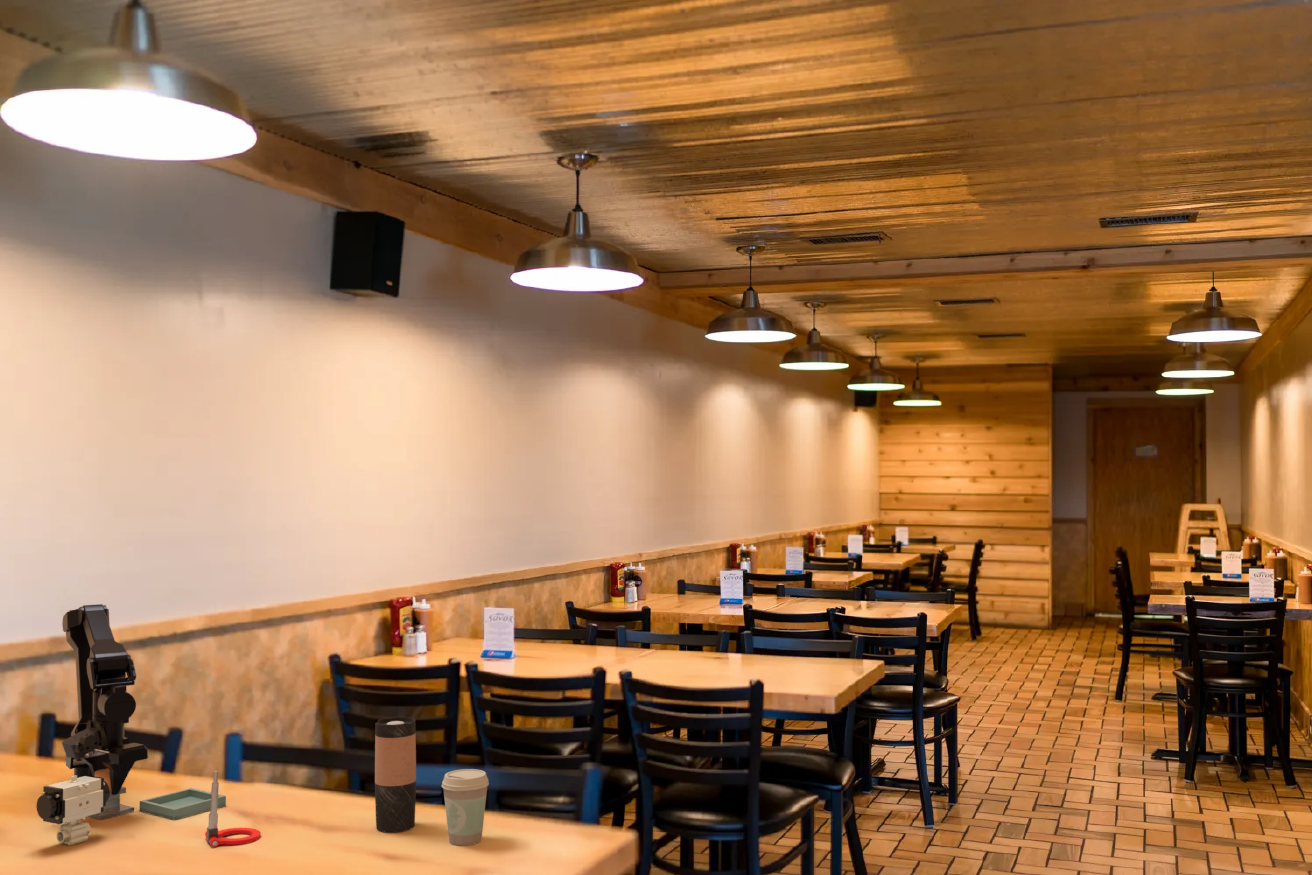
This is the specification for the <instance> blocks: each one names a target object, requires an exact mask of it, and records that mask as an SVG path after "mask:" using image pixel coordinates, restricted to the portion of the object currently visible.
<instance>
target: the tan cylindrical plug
mask: <svg viewBox="0 0 1312 875" xmlns="http://www.w3.org/2000/svg"><path fill="white" fill-rule="evenodd" d="M95 777H101V778H104V781H105V782H106V783H107V784H108V786H109V789H110V796H109V797H111V796H115V795H112V790H111V782H110V771H109V769H108V768H107V769H101V770H97V771H95ZM126 793H127V787H124V786H122V787H121V789H120V791H119V793H118V794H116V795H119V794H120V795H122V794H126Z"/></svg>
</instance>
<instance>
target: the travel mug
mask: <svg viewBox="0 0 1312 875" xmlns="http://www.w3.org/2000/svg"><path fill="white" fill-rule="evenodd" d="M374 725H375V726H374V731H375V734H374V736H375V737H374V740H375V741H374V742H375V743H374V799H375V800H374V802H375V804H374V806H375V824H376V825H375V827H376V830H377V831H378V832H381V833H391V834H392V833H395V834H396V833H403V832H406V831H410V830H412V829H414V827H415V824H416V823H415V822H416V795H417V792H416V791H417V749H416V748H417V746H416V745H417V743H416V739H417V737H416V736H417V735H416V732H417V731H416V728H417V727H416V725H417V724H416V719H415V718H413V717H408V716H393V717H390V716H389V717H384V718H380V719H378V720H377V722H375V724H374Z"/></svg>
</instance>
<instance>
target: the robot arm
mask: <svg viewBox="0 0 1312 875" xmlns="http://www.w3.org/2000/svg"><path fill="white" fill-rule="evenodd" d="M61 622H62V626H61V627H62V631H63V632H64V633H65V638H66V642H67V643H68V645H69V646H70V647H71V648H72V650H73V651H74V653H75V672H76V673H75V674H76V692H77V694H76V695H77V709H78V710H77V713H78V714H77V715H78V720H77V722H76V723H75V725H74V727H73V729H72V730H71V733H70V736H69V737H67V738H66V739H64V740H63V741H62V742H61V744H62V748H63V750H64V752H65V766H66V767H67V768H68V770H73V776H75V775H76V776H77V778H79V777H83V776H87V775H89V776H95V771H97V770H101V769H107V768H108V769H109V771H110V782H111V790H112V795H116V794H118V793H119V791H120V789H121V787H123V785H124V783H125V781H126V779H127V777H128V775H129V773H130V771H131V770H132V768H133V766H134V765H135V763H136V762H138V761H143V760H147V759H149V748H148V747H147V745H145V744H142V743H137V742H131V743H130V742H129V741H130V739H129V738H128V737H126V736H125V724H129V723H130V718H131V717H132V716H133V715H134V713H135V712H136V708H137V702H136V699H135V697H134V696H133V695H132V694H130V693H129V692H128V691H127V686H135V684H136V683H135V681H136V679H137V672H136V667H135V664H134V660H133V659H132V657H131V656H132V655H130V654H128V651H127V649H126V647H125V646H124V644H122V643H120V642H117V641H116V640H115V637H114V634H113V631H112V628H111V625H110V609H108V608H107V605H106V604H105V605H104V604H100V603H99V604H86V605H85V604H83V605H82V606H79V607H78V608H75V609H70V610H69V611H67V612H65V614H64V615H63V616H62V621H61Z"/></svg>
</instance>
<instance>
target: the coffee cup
mask: <svg viewBox="0 0 1312 875" xmlns="http://www.w3.org/2000/svg"><path fill="white" fill-rule="evenodd" d="M441 783H442V784H441V788H443V797H444V798H443V799H444V807H445V808H444V809H445V814H446V815H445V816H446V824H447V825H446V826H447V833H448V841H449V843H450V844H452V845H455V846H472V845H475V844H474V843H476V844H478V843H480V842H481V841H482V838H483V830H484V823H485V822H484V820H485V811H486V810H485V809H486V803H487V802H486V801H487V793H488V792H487V791H488V786H490V785H489V784H490V782H489V778H488V776H487V772H486V771H484V770H482V769H476V768H470V769H469V768H463V769H462V768H461V769H457V770H452V771H448V772H446V773H445V774H444V776H443V780H442V782H441ZM471 844H472V845H471Z"/></svg>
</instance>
